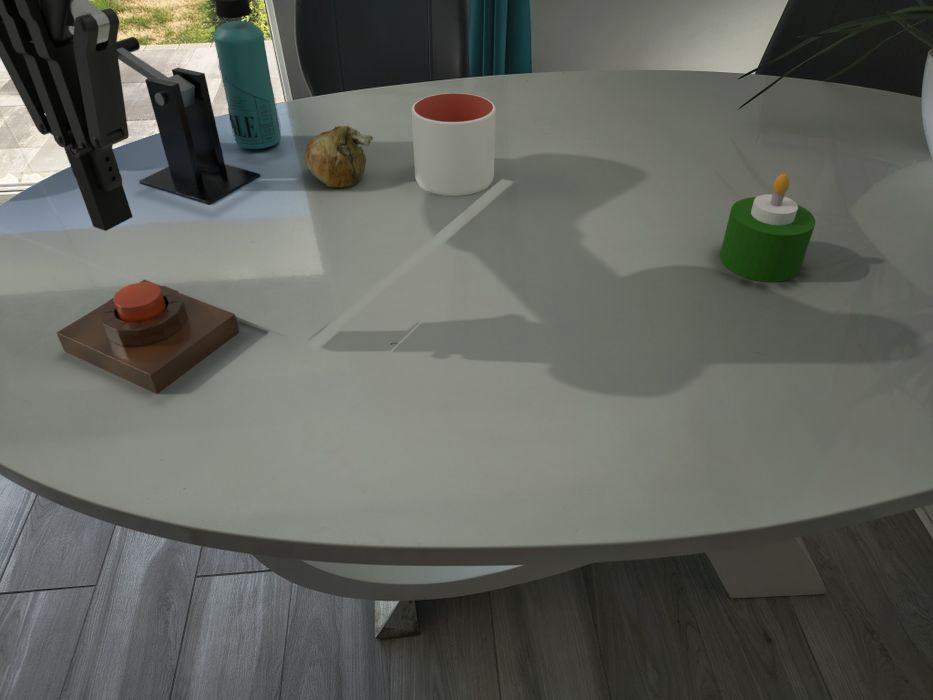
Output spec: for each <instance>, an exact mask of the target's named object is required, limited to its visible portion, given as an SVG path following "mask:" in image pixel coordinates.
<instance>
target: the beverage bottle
mask: <svg viewBox="0 0 933 700" xmlns="http://www.w3.org/2000/svg"><path fill="white" fill-rule="evenodd" d="M214 2H215V12H216V16H217V17H219V18H223V19H238V18H239V19H240V18H244V17H248V16H249V15H251V14H252V9H251V6H250V2H249V0H214ZM264 36H265V34H264V31H263V30H262V29H261V28H260V27H258V26H257V25H256V24H255V23H253V22H252V21H247V20H234V21H227V22H224V23H221V24H219V26H218V27H217V28H216V30H215V32H214V33H213V35H212V38H213V39H212V40H213V42H214V46H215V50H216V56H217V59H216V60H217V61H218V71H219V73H220V74H219V75H220V76H221V77H220V79H221V84H222V85H223V89H224V94H225V101H226V102H225V103H226V105H227V107H228V108H227V112H228V117H229V123H230V126H231V131H232V133H233V134H232V136H233V138H234V141H235V142H236V144H237V145H238V146H239V148H243V149H247V150H260V149H266V148H270V147H273V146H276V145H277V144H278V143H280V141H281V138H282V137H281V135H282V133H283V132H281V130H282V128H281V122H280V117H279V115H278V107H277V105H278V104H277V103H276V98H275V92H274V87H273V84H272V79H271V74H270V68H269V67H270V66H269V62H268V56H267V50H266V43H265V37H264Z"/></svg>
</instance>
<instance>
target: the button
mask: <svg viewBox="0 0 933 700" xmlns="http://www.w3.org/2000/svg"><path fill="white" fill-rule="evenodd" d="M139 282H140V283H139ZM139 282H135V283H132V284H128V285H126V286H124V287H122V288H120V289H119V290H118V291H116V292H115V294H114V295H113V297H112V298H113V301H114V304H115V307H116V309H117V312H118V315H119V317H120V319H121V320H123V321H124V322H142V321H146V320H149V319H152V318H155V317H156V316H158V315H159V314H161V313H163V312H164V311H165V308H166V304H165V301H164V298H163V294H162V291H161V288H160V287H159V286H158V285H159V284H157V283H155V282H152V283H149V282H150V281H149V282H141V281H139ZM154 283H155V284H154ZM156 284H157V285H156Z"/></svg>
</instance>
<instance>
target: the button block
mask: <svg viewBox="0 0 933 700" xmlns="http://www.w3.org/2000/svg"><path fill="white" fill-rule="evenodd" d="M140 282H149V283H154V284H156V285H158V286H159V287H160V288H161V291H162V294H163V298H164V301H165V304H166V308H165V311H164V312H163V313H161V314H159V315H158V316H156V317H155V318H152V319H149V320H146V321H142V322H124V321H123V320H121V319H120V317H119V315H118V312H117V309H116V307H115V304H114V301H113V298H114V297H112V298H110V299H109V300H107V301H106V302H104V303H103V304H101V305H100V306H98V307H96V308H95V309H93V310H91V311H90V312H88V313H86V314H85V315H83V316H81V317H80V318H78V319H76V320H75V321H73V322H72V323H70V324H68V325H67V326H65V327H64V328H61V329H60V330H59V331H57V332H56V335H57V338H58V340H59V342H60V344H61V346H62V349H63V351H64V352H65V353H67V354H69V355H71V356H73V357H76V358H78V359H80V360H82V361H85V362H87V363H89V364H91V365H93V366H95V367H97V368H99V369H102V370H104V371H105V372H108V373H110V374H112V375H114V376H116V377H119V378H121V379H123V380H125V381H128V382H130V383H132V384H134V385H136V386H138V387H141V388H142V389H145V390H147V391H149V392H151V393H153V394H155V395H158V394H160V393H161V392H162V391H164V390H165V389H166V388H167V387H169V386H170V385H171V384H174V382H176V381H177V380H179V378H181V377H182V376H184V375H185V374H186V373H187V372H189V371H190V370H191V369H193V368H194V367H196V366H197V365H198V364H200V363H201V362H203V360H206V358H207V357H209V356H211V354H213V353H214V352H216V351H217V350H218V349H220V348H221V347H222V346H224V345H225V344H226V343H228V342H229V341H230V340H232V339H233V338H234V337H236V336H237V335H238V334H239V333H240V329H239V325H238V321H237V316H236V314H235V313H234V312H231V311H228V310H226V309H223V308H221V307H218V306H215V305H214V304H213V305H212V304H210V303H207V302H204V301H202V300H199V299H197V298H195V297H191V296H189V295H186V294H184V293H181V292H180V291H178V290H177V289H173V288H171V287H168V286H166V285H160V284H157V283H155V282H152V281H149V280H147V279H143V280H141V281H139V282H138V283H140Z"/></svg>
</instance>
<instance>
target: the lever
mask: <svg viewBox="0 0 933 700" xmlns="http://www.w3.org/2000/svg"><path fill="white" fill-rule="evenodd" d="M116 47H117V54H118V61H119V62H122V63H123V64H125V65H126V66H128V67H130V68H131V69H132V70H134V71H135V72H137V73H138V74H140V75H141V76H143V77H144V78H146V79H148V78H151V77H153V78H157V79H162V80H166V81H170V82H175V83H179V87H180V91H181V95H182V99H183V103H184V107H188V106H190V105H192V104H194V103H195V86H194V85H193V84H191V83H190V82H188V81H187V80H185V79H184V78H182V77H181V76H179V75H177V74H176V75H174V76H173V75H171V76H169V77H168V76H167V75H165V74H164V73H162V72H161V71H159V70H158V69H156V68H155V67H153V66H151V65H150V64H149V63H147V62H146V61H145V60H143V59H141V58H140V57H138V56H137V55H135V54H133V53H134V52H137V51H139V50H140V48H141V45H140V42H139V40H138V38H136V37H135V36H130V37H127V38H123V39H121V40H117V42H116Z"/></svg>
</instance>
